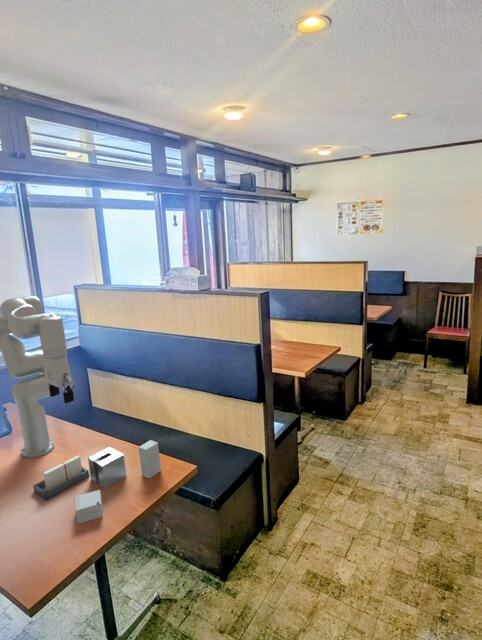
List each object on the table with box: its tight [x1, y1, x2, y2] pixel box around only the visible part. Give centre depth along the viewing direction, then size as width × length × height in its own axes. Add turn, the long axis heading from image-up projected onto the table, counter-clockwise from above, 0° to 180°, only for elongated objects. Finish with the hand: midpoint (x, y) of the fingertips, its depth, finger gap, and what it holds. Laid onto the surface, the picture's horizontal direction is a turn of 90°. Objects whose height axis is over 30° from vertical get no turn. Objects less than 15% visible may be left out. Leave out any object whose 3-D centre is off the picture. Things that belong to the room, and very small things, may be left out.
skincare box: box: [138, 439, 162, 480], centre depth 146 cm, size 6×4×12 cm
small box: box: [74, 489, 104, 525], centre depth 127 cm, size 8×8×5 cm
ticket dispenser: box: [87, 446, 127, 489], centre depth 144 cm, size 9×9×9 cm
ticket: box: [42, 455, 83, 491], centre depth 142 cm, size 2×13×7 cm, turn 142°
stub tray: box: [33, 466, 90, 501], centre depth 143 cm, size 8×16×2 cm, turn 142°
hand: (62, 398), depth 138 cm, fingers open, 9 cm apart
